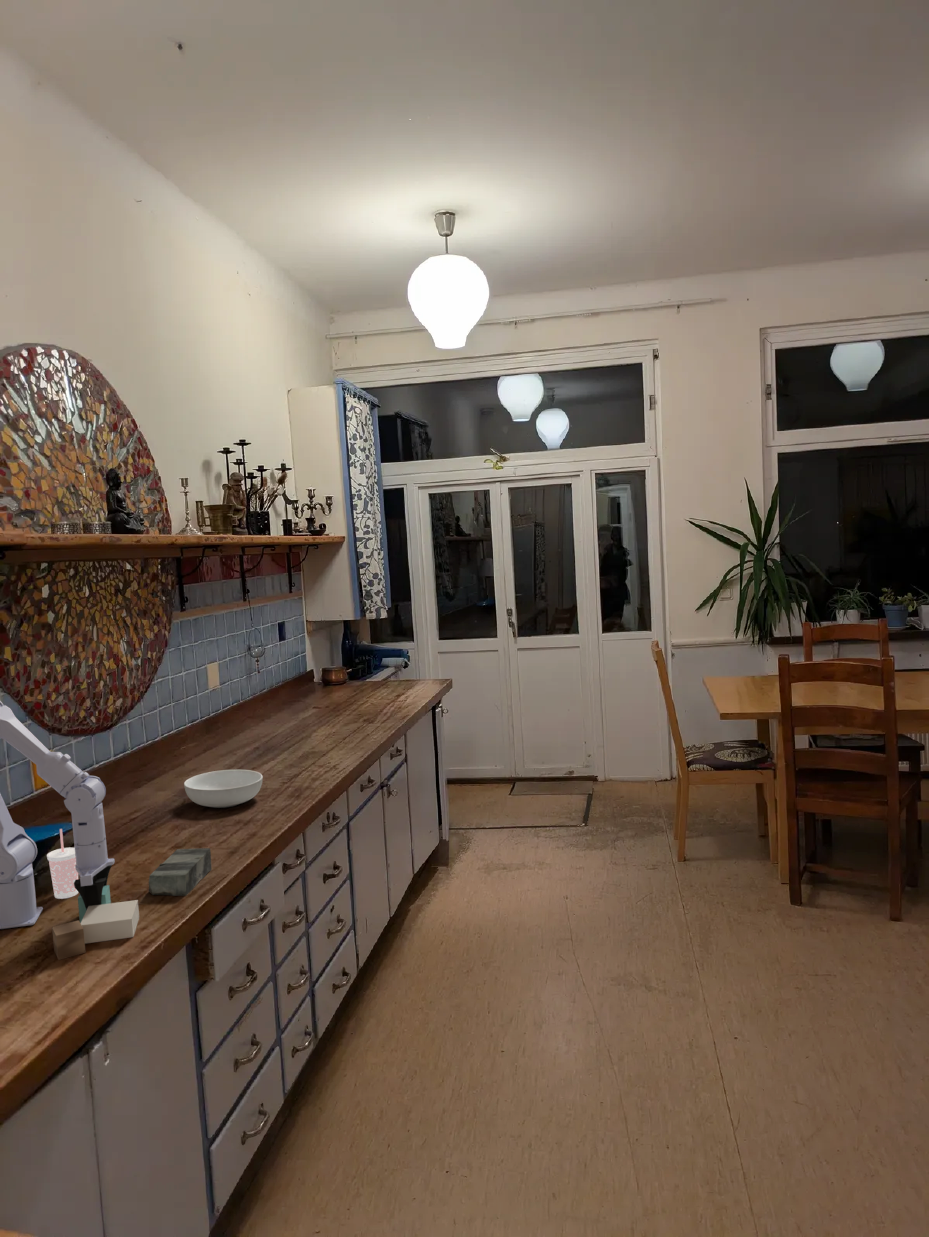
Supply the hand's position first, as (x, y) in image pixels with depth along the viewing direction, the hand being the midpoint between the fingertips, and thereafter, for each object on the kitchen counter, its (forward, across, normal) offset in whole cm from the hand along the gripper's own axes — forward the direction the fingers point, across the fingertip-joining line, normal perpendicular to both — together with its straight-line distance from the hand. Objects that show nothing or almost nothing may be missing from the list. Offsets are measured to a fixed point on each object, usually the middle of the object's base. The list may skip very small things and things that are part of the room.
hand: (96, 908), depth 178 cm
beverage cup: (+2, +14, +8) cm, 16 cm away
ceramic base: (+2, -8, -4) cm, 9 cm away
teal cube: (+2, 0, 0) cm, 2 cm away
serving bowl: (+2, +70, -22) cm, 73 cm away
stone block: (+2, +13, -14) cm, 19 cm away
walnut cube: (+2, -15, +2) cm, 15 cm away
